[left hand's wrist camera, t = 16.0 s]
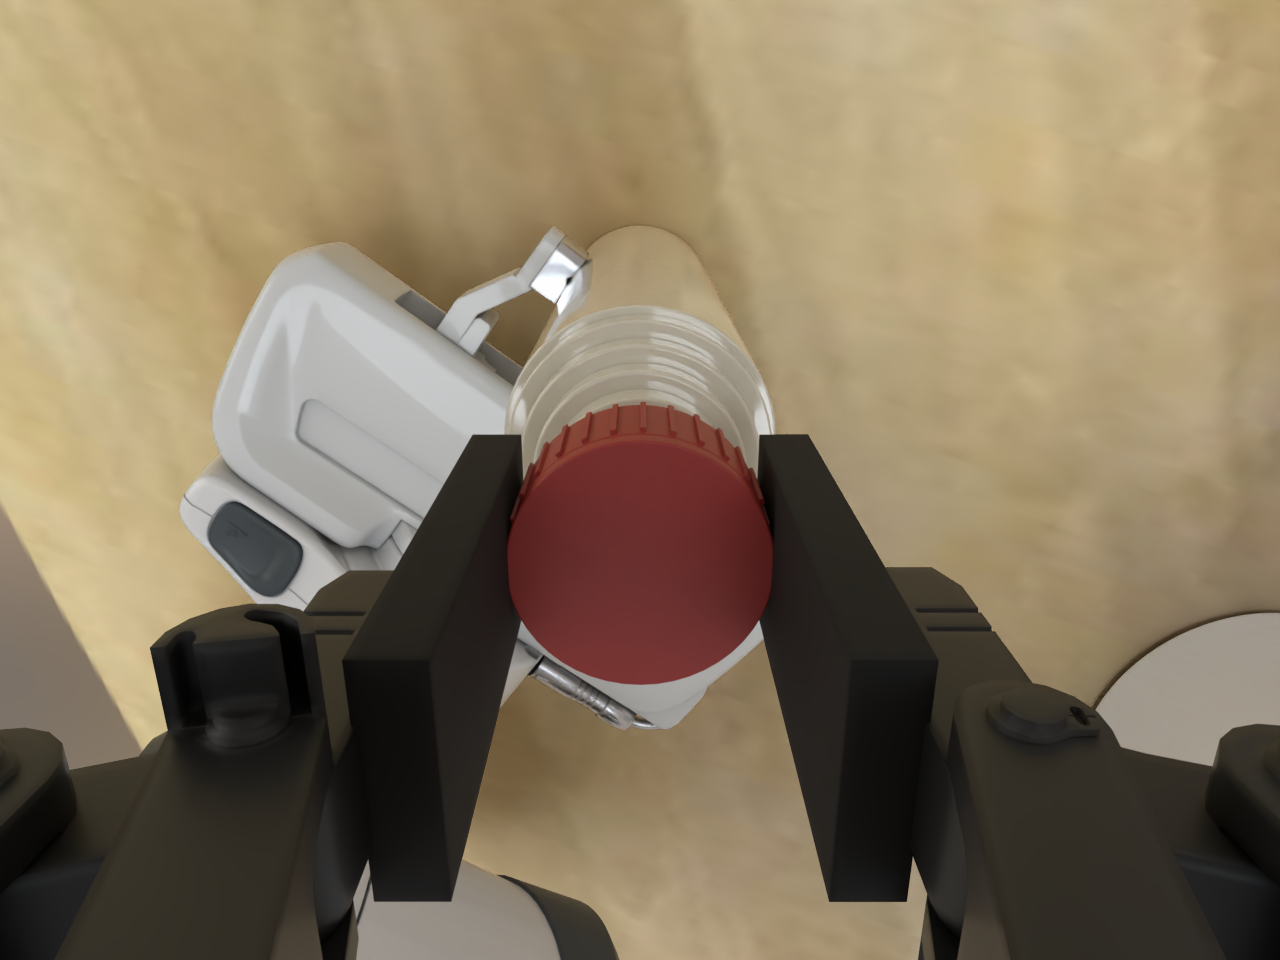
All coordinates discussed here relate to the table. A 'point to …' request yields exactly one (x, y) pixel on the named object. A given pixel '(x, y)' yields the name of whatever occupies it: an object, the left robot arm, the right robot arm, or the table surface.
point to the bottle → (640, 347)
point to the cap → (640, 546)
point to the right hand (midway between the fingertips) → (655, 304)
